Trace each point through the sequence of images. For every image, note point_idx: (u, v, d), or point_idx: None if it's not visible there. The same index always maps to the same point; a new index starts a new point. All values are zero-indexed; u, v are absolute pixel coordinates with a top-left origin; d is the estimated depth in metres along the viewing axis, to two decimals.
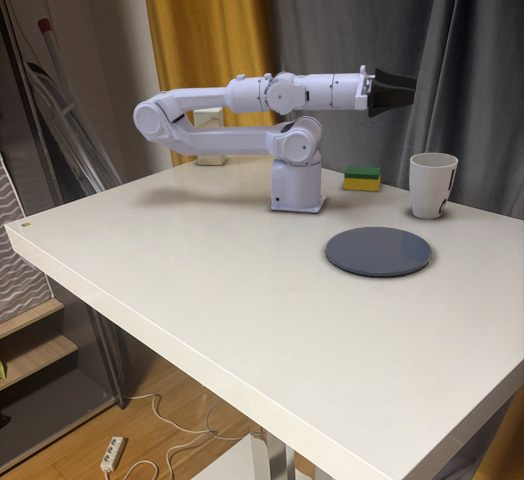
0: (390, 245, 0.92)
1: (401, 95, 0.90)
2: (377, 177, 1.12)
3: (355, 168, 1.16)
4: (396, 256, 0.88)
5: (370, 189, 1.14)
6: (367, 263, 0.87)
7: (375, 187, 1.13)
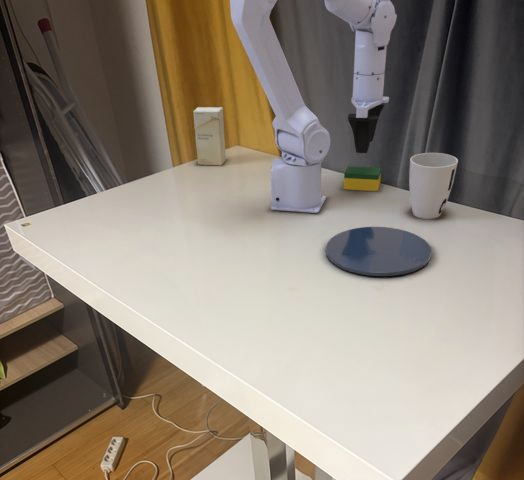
0: (390, 245, 0.92)
1: (363, 142, 1.07)
2: (377, 177, 1.12)
3: (355, 168, 1.16)
4: (396, 256, 0.88)
5: (370, 189, 1.14)
6: (367, 263, 0.87)
7: (375, 187, 1.13)
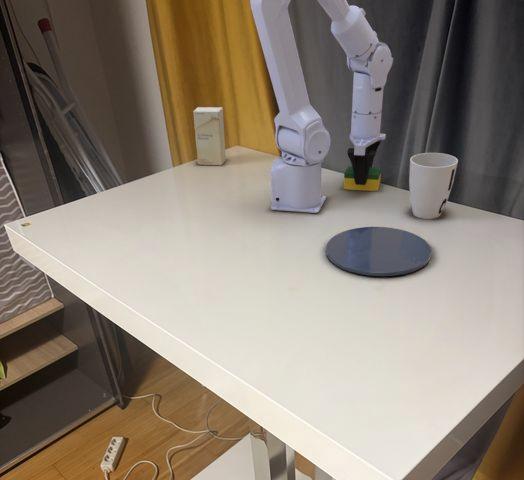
0: (390, 245, 0.92)
1: (362, 175, 1.12)
2: (377, 177, 1.12)
3: None
4: (396, 256, 0.88)
5: (370, 189, 1.14)
6: (367, 263, 0.87)
7: (375, 187, 1.13)
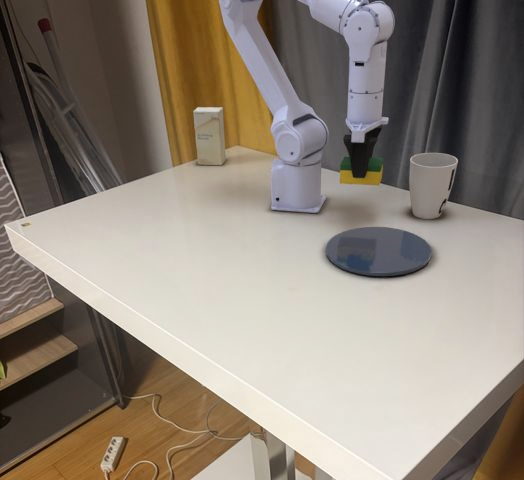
0: (390, 245, 0.92)
1: (361, 166, 0.95)
2: (379, 169, 0.95)
3: None
4: (396, 256, 0.88)
5: (371, 182, 0.97)
6: (367, 263, 0.87)
7: (376, 181, 0.97)
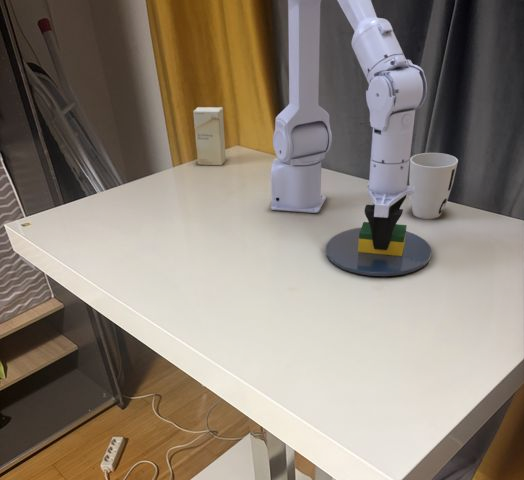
0: None
1: (383, 238, 0.87)
2: (402, 239, 0.87)
3: None
4: (396, 256, 0.88)
5: (392, 253, 0.88)
6: (367, 263, 0.87)
7: (399, 251, 0.88)
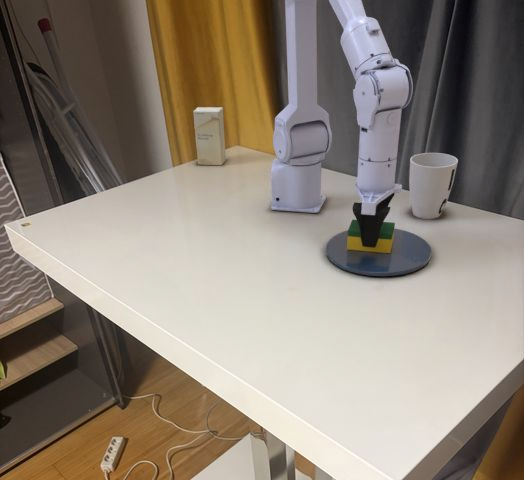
0: None
1: (371, 235, 0.88)
2: (390, 236, 0.88)
3: None
4: (396, 256, 0.88)
5: (381, 250, 0.89)
6: (367, 263, 0.87)
7: (387, 248, 0.89)
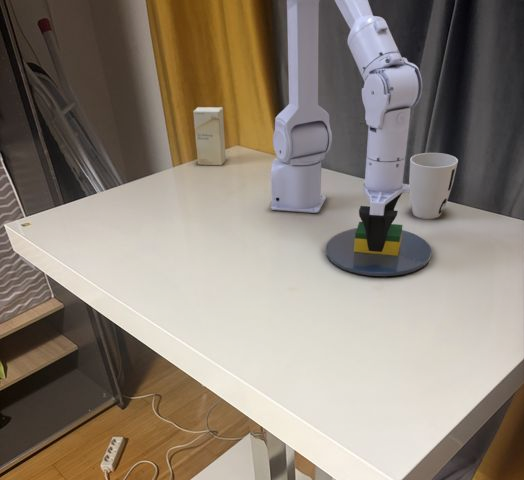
0: None
1: (378, 240, 0.86)
2: (398, 239, 0.87)
3: None
4: (396, 256, 0.88)
5: (388, 252, 0.89)
6: (367, 263, 0.87)
7: (395, 251, 0.88)
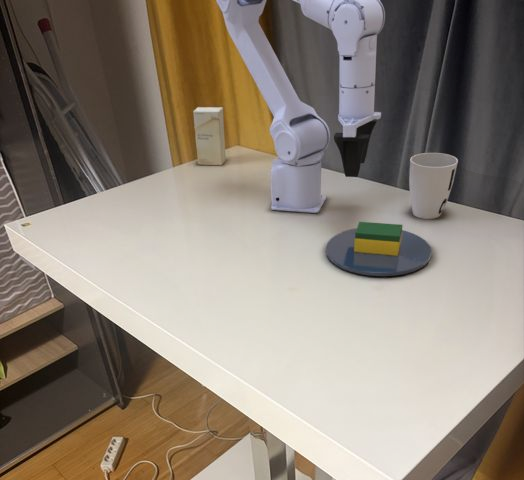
0: None
1: (353, 165, 0.93)
2: (398, 239, 0.87)
3: (369, 224, 0.90)
4: (396, 256, 0.88)
5: (388, 252, 0.89)
6: (367, 263, 0.87)
7: (395, 251, 0.88)
